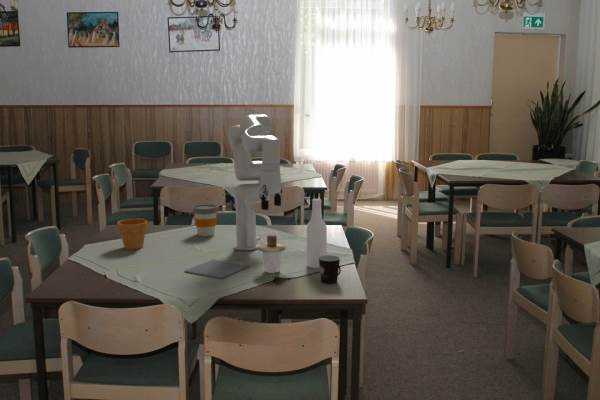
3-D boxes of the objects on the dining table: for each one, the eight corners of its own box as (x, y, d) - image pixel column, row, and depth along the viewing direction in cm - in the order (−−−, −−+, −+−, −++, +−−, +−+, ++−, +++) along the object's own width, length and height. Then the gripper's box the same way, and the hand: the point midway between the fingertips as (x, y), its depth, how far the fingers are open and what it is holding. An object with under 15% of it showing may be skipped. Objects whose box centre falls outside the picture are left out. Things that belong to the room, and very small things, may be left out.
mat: (213, 260, 284) (213, 259, 284) (249, 266, 274) (249, 265, 274) (184, 271, 267) (184, 270, 267) (221, 279, 257) (221, 277, 257)
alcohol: (304, 263, 278) (304, 198, 273) (323, 262, 280) (323, 197, 275) (309, 269, 270) (309, 201, 264) (328, 268, 272) (329, 200, 266)
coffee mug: (317, 278, 257) (317, 255, 255) (338, 278, 258) (338, 254, 256) (320, 287, 246) (320, 263, 244) (342, 287, 247) (342, 262, 245)
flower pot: (113, 249, 303) (111, 223, 300) (128, 242, 316) (127, 217, 314) (139, 251, 299) (137, 225, 297) (153, 244, 313) (152, 219, 310)
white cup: (279, 274, 264) (278, 251, 262) (261, 273, 265) (260, 250, 263) (283, 268, 271) (283, 246, 269) (265, 267, 273) (265, 245, 271)
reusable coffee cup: (195, 237, 326) (194, 209, 324) (193, 232, 338) (192, 205, 336) (219, 236, 329) (218, 208, 326) (216, 230, 341) (215, 204, 338)
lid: (267, 243, 274) (267, 231, 273) (291, 247, 269) (291, 234, 268) (252, 250, 264) (252, 237, 263) (276, 253, 258) (276, 240, 257)
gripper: (274, 164, 269) (274, 203, 272) (251, 169, 254) (252, 210, 258) (289, 165, 265) (289, 205, 269) (267, 170, 251) (267, 212, 254)
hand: (271, 207), depth 263 cm, fingers open, 9 cm apart
